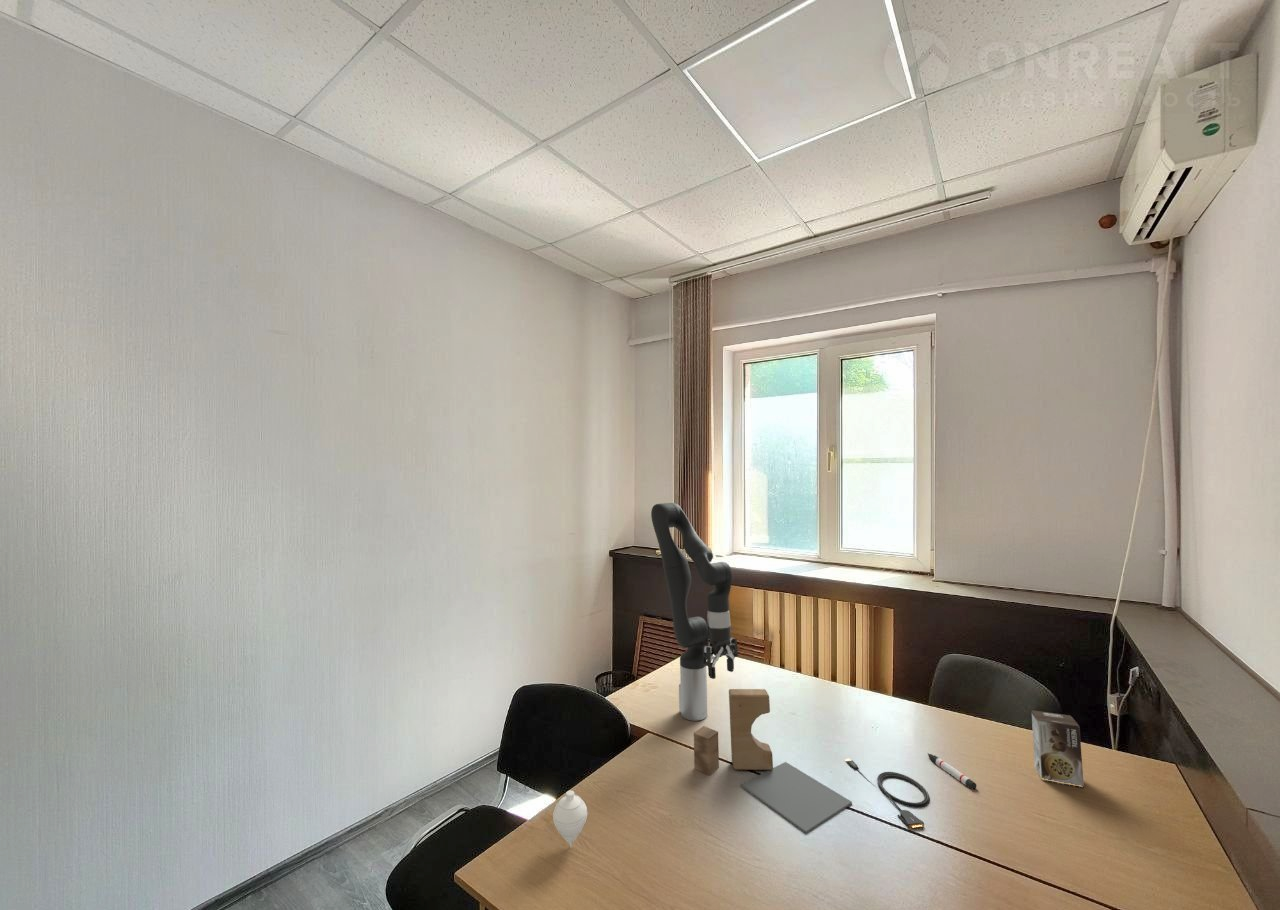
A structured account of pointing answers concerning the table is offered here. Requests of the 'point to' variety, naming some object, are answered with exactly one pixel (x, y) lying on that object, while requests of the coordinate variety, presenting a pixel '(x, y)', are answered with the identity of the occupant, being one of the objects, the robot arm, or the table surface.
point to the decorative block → (748, 729)
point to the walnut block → (706, 750)
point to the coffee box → (1057, 747)
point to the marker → (952, 771)
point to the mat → (796, 796)
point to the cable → (904, 815)
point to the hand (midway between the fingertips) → (721, 674)
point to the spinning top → (570, 816)
